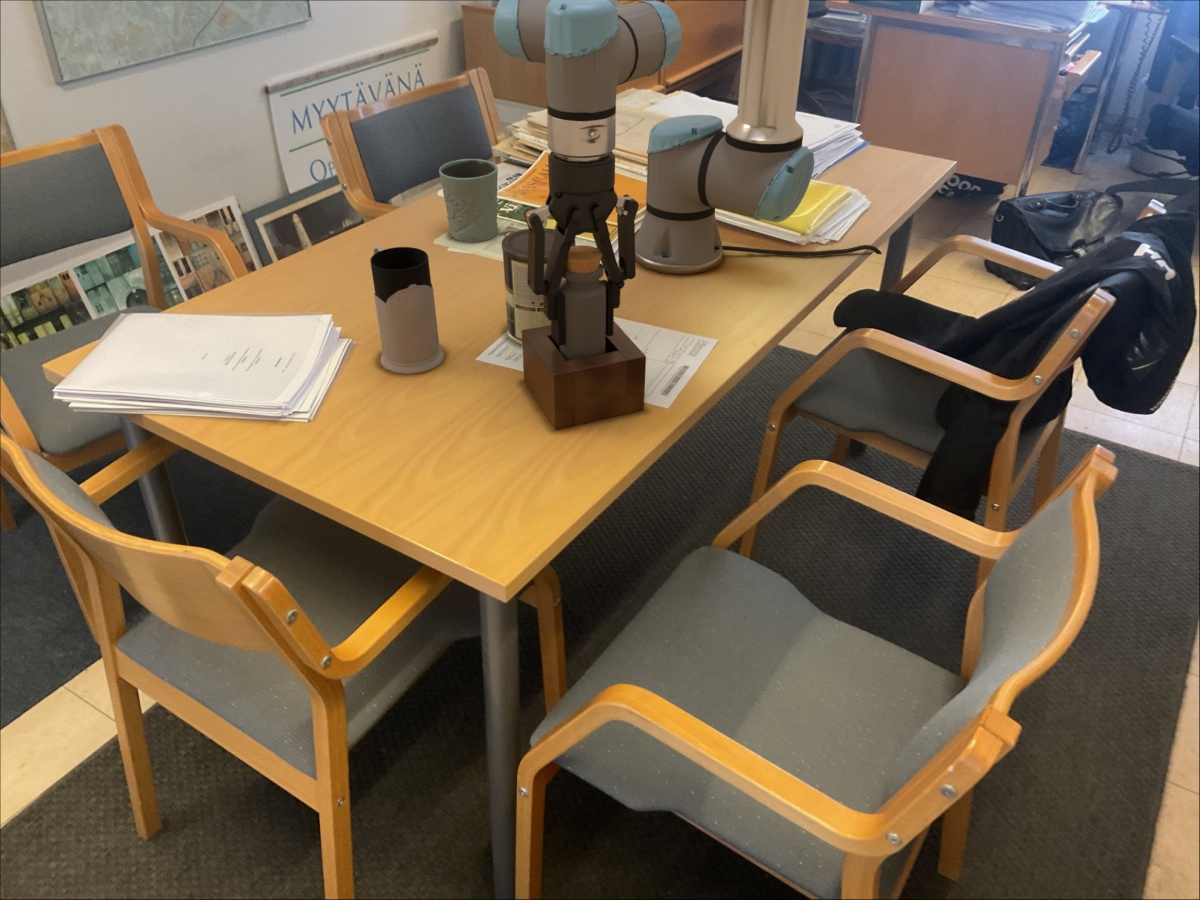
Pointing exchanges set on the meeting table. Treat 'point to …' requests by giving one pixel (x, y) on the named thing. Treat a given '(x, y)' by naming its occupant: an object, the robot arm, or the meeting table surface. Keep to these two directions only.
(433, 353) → the glass holder
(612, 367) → the bottle stand
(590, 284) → the bottle
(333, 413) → the meeting table surface
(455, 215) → the grey cup
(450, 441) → the meeting table surface
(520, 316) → the coffee can
